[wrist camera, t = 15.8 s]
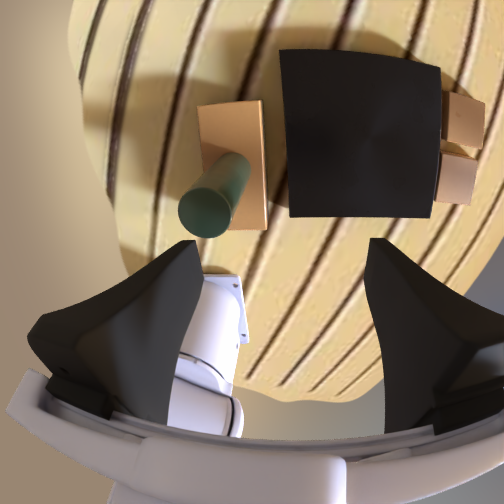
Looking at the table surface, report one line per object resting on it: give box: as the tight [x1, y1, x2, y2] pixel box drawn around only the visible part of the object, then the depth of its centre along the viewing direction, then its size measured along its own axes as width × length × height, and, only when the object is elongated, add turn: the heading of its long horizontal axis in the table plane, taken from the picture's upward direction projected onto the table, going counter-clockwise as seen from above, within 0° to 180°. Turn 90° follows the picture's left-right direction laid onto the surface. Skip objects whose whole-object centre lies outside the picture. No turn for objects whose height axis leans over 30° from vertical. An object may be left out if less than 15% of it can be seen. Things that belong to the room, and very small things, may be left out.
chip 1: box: [441, 91, 485, 149], centre depth 14 cm, size 4×4×1 cm
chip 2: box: [433, 151, 478, 205], centre depth 17 cm, size 4×4×1 cm
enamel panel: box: [279, 49, 442, 218], centre depth 16 cm, size 12×12×2 cm
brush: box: [178, 100, 269, 238], centre depth 15 cm, size 9×4×10 cm, turn 4°
